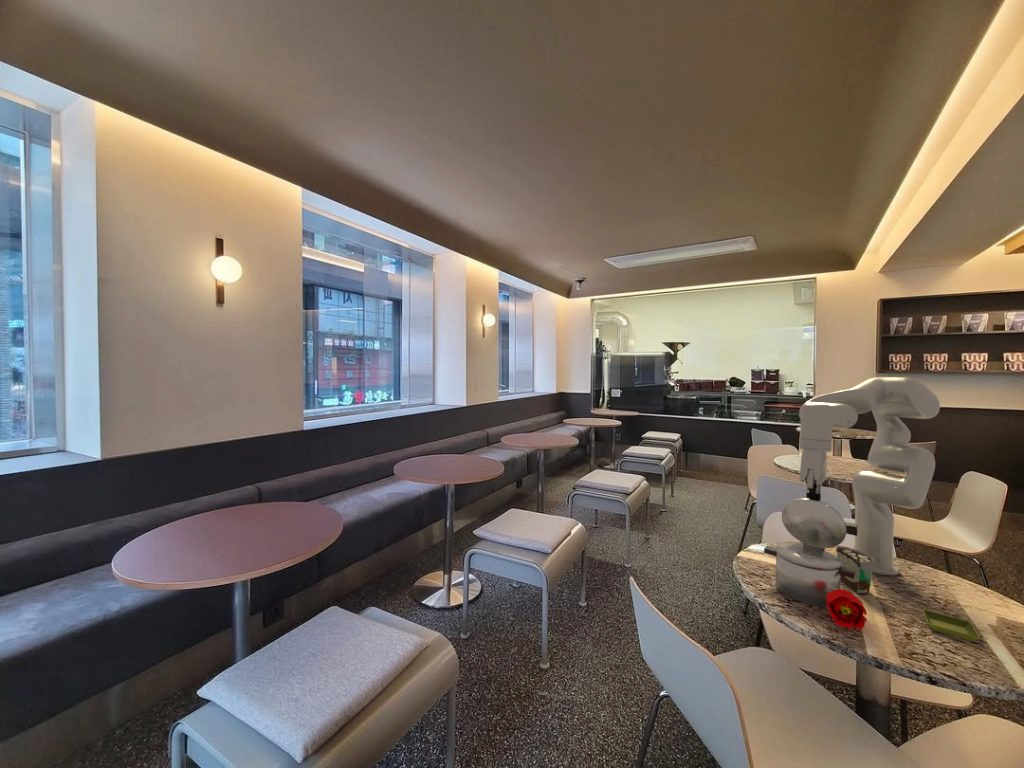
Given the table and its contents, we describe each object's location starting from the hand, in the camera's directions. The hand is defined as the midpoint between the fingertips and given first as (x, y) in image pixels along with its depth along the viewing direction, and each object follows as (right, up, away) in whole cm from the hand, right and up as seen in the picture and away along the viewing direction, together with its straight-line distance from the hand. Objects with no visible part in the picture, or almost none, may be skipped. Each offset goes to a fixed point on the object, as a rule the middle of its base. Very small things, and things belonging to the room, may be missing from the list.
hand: (813, 505), depth 120 cm
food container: (+13, -24, -1) cm, 27 cm away
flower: (-6, -24, -18) cm, 31 cm away
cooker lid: (0, -6, -1) cm, 6 cm away
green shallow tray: (+18, -25, -21) cm, 37 cm away
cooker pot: (-5, -24, -4) cm, 25 cm away
